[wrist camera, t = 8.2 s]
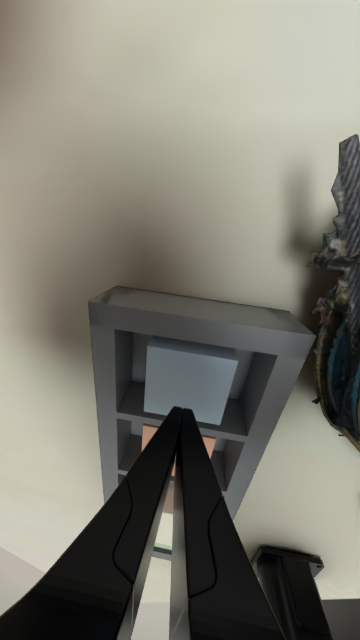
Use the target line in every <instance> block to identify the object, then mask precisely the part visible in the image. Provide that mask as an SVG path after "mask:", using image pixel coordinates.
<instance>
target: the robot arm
mask: <svg viewBox="0 0 360 640" xmlns="http://www.w3.org/2000/svg"><path fill="white" fill-rule="evenodd" d="M175 457H176V459H175ZM174 463H175V473H174V503H173V533H172V563H171V593H170V624H169V640H333V637H332V634H331V629H330V626H329V623H328V620H327V617H326V614H325V611H324V607H323V604H322V601H321V598H320V595H319V592H318V589H317V586H316V582H315V579H314V577H315V576H316V575H317V574H318V573H319V572H320V571H321V570H322V569H323V568H324V565H323V562H322V560H321V559H318V558H313V557H308V556H304V555H299V554H295V553H290V552H286V551H281V550H277V549H272V548H268V547H261V548H260V549H259V550H258V552H257V554H256V555H255V557H254V558H253V560H252V561H251V563H250V561H249V558H248V556H247V554H246V552H245V549H244V547H243V545H242V542H241V540H240V538H239V535H238V533H237V531H236V528H235V526H234V523H233V521H232V518H231V515H230V513H229V510H228V507H227V505H226V502H225V499H224V497H222V496H223V494H222V491H221V488H220V485H219V483H218V480H217V477H216V474H215V471H214V469H213V466H212V463H211V460H210V457H209V455H208V452H207V449H206V446H205V443H204V441H203V438H202V435H201V432H200V429H199V427H198V424H197V421H196V418H195V415H194V413H193V410H192V409H189V408H182V407H178V406H173V408H172V409H171V410H170V412H169V413H168V415H167V416H166V418H165V419H164V421H163V422H162V423H161V425H160V426H159V428H158V429H157V431H156V432H155V433H154V435H153V436H152V438H151V439H150V441H149V442H148V444H147V445H146V446H145V448H144V449H143V451H142V452H141V454H140V455H139V457H138V458H137V459H136V461H135V462H134V464H133V465H132V467H131V468H130V469H129V471H128V472H127V474H126V476H125V477H124V478H123V479H122V481H121V482H120V484H119V485H118V487H117V488H116V489H115V491H114V492H113V493H112V495H111V496H110V497H109V499H108V500H107V502H106V503H105V504H104V505H103V507H102V508H101V509H100V510H99V511H98V513H97V514H96V515H95V516H94V518H93V519H92V520H91V521H90V522H89V524H88V525H87V526H86V527H85V528H84V530H83V531H82V532H81V533H80V534H79V535H78V537H77V538H76V539H75V540H74V541H73V542H72V544H71V545H70V546H69V547H68V548H67V549H66V551H65V552H64V553H63V554H62V555H61V557H60V558H59V559H58V560H57V561H56V562H55V564H54V565H53V566H52V567H51V568H50V569H49V570H48V572H47V573H46V574H45V575H44V576H43V577H42V578H41V579H40V580H39V581H38V582H37V583H36V585H34V586H33V587H32V588H31V589H30V591H28V593H26V594H25V595H24V596H23V597H22V598H21V599H20V600H19V601H17V602H16V603H15V604H14V605H13V606H12V607H10V608H9V609H8V610H7V611H6V612H4V613H3V614H2V615H1V616H0V640H131V635H132V632H133V628H134V624H135V619H136V616H137V612H138V608H139V604H140V600H141V596H142V592H143V588H144V584H145V580H146V576H147V572H148V568H149V564H150V560H151V556H152V552H153V548H154V544H155V540H156V536H157V532H158V528H159V524H160V520H161V516H162V512H163V508H164V504H165V500H166V496H167V492H168V488H169V484H170V480H171V476H172V472H173V468H174ZM258 579H259V580H258Z"/></svg>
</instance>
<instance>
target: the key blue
mask: <svg viewBox="0 0 360 640" xmlns="http://www.w3.org/2000/svg"><path fill="white" fill-rule="evenodd" d="M237 364H238V358H237V355H236V351H235V348H229V347H223V346H217V345H210V344H204V343H198V342H192V341H185V340H179V339H173V338H166V337H160V336H154V335H153V336H152V338H151V340H150V342H149V344H148V346H147V361H146V380H145V398H144V411H145V412H150V413H156V414H161V415H168V413H169V412H170V410H171V409H172V408H173V406H178V407H182V408H189V409H192V410H193V413H194V415H195V418H196V421H199V422H205V423H210V424H215V425H220V423H221V420H222V416H223V413H224V409H225V406H226V402H227V399H228V395H229V392H230V388H231V385H232V381H233V378H234V374H235V371H236V367H237Z"/></svg>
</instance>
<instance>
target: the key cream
mask: <svg viewBox="0 0 360 640" xmlns="http://www.w3.org/2000/svg"><path fill="white" fill-rule="evenodd" d="M173 503H174V485H170V484H169V488H168V492H167V496H166V500H165V504H164V508H163V512H162V516H161V520H160V524H159V528H158V532H157V536H156V540H155V543H160V544H164V545H169V546H172V533H173Z"/></svg>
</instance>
